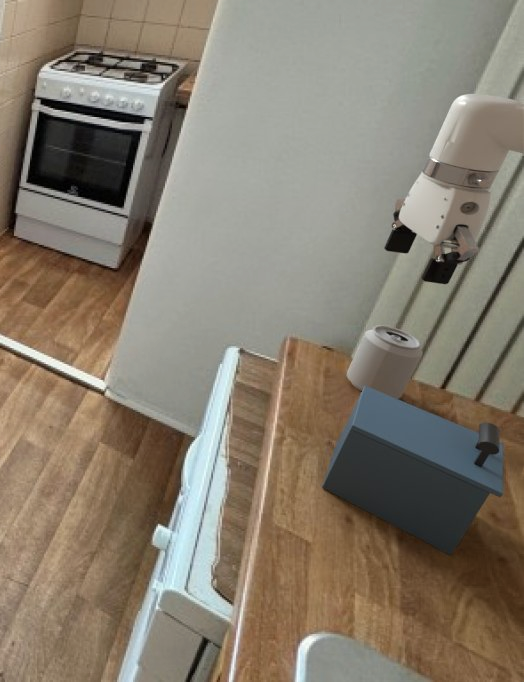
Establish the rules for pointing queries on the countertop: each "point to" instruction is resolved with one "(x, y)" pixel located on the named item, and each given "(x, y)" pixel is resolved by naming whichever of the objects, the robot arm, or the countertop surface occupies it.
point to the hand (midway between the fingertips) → (414, 266)
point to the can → (385, 360)
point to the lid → (433, 439)
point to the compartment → (402, 489)
